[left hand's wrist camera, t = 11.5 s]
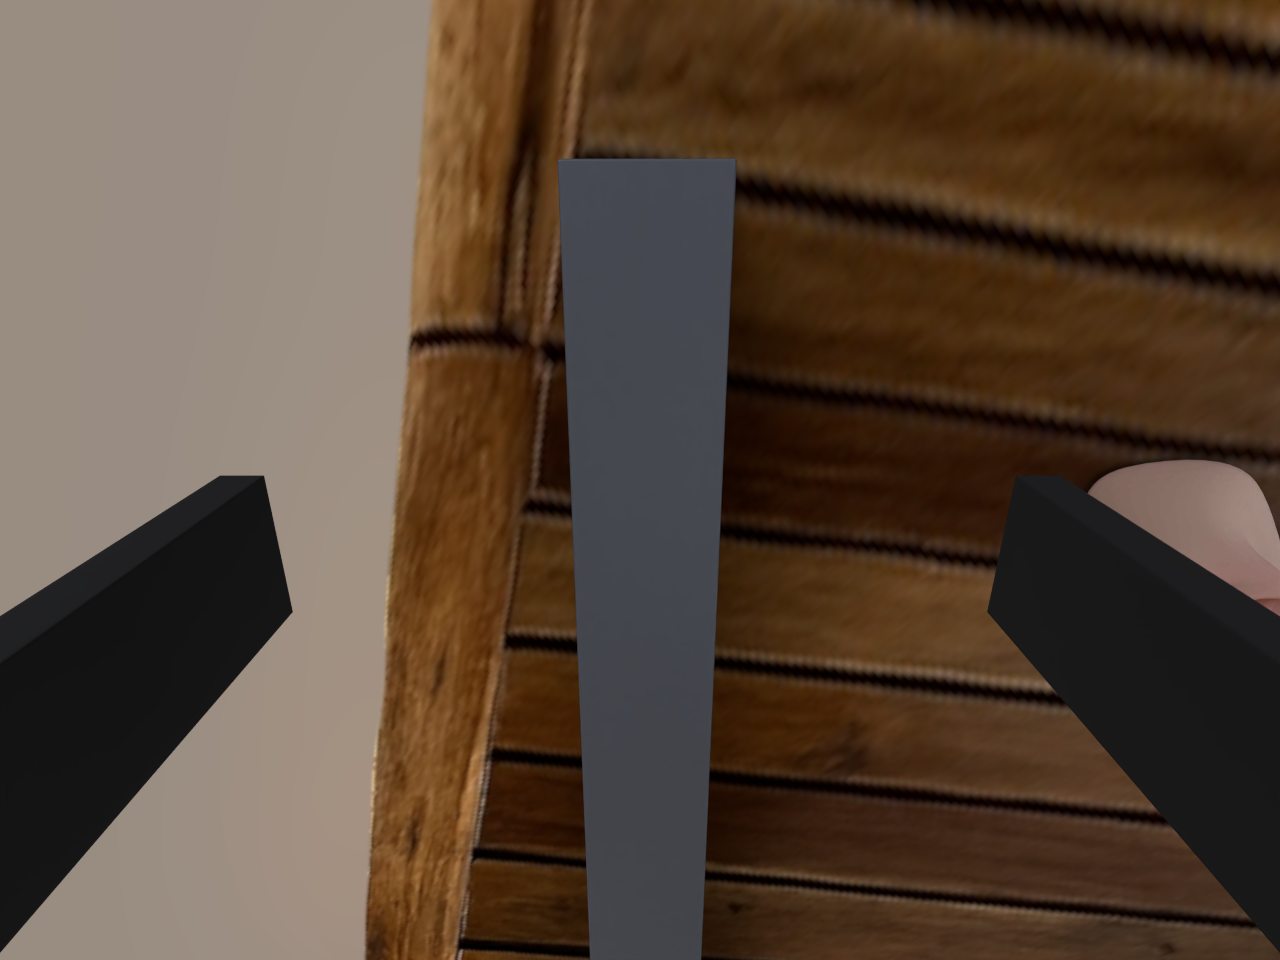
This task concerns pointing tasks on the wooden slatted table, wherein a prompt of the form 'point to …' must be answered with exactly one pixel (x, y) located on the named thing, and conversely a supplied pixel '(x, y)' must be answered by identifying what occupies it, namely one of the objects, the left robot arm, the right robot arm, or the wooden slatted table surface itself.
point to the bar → (646, 528)
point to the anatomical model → (1203, 519)
